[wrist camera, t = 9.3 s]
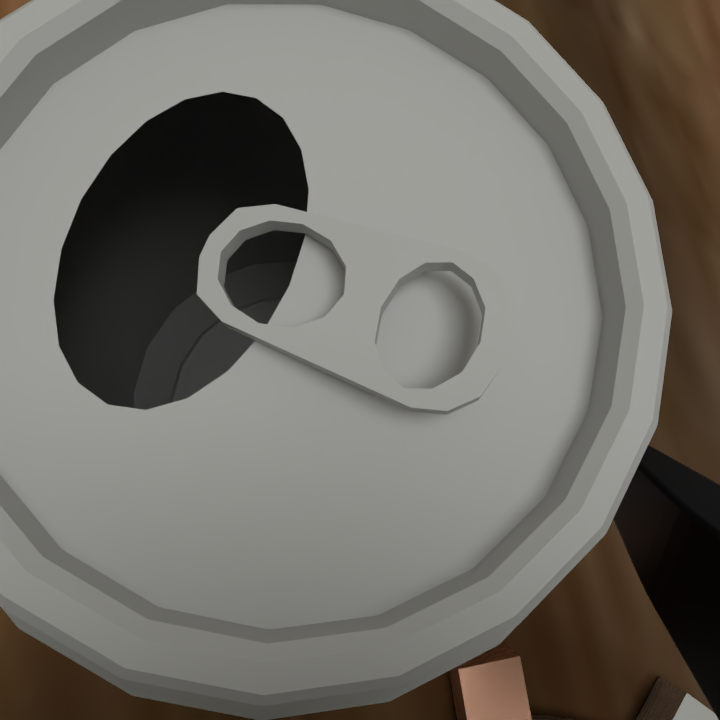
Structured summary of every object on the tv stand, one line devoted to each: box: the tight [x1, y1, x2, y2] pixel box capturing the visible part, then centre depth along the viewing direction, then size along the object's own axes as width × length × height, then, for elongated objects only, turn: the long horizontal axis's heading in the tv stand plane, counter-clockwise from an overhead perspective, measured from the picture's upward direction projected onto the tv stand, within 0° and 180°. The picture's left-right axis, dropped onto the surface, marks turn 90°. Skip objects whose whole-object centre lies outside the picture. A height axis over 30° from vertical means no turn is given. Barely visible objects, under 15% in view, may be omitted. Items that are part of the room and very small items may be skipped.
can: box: [0, 0, 672, 720], centre depth 10 cm, size 8×8×12 cm
